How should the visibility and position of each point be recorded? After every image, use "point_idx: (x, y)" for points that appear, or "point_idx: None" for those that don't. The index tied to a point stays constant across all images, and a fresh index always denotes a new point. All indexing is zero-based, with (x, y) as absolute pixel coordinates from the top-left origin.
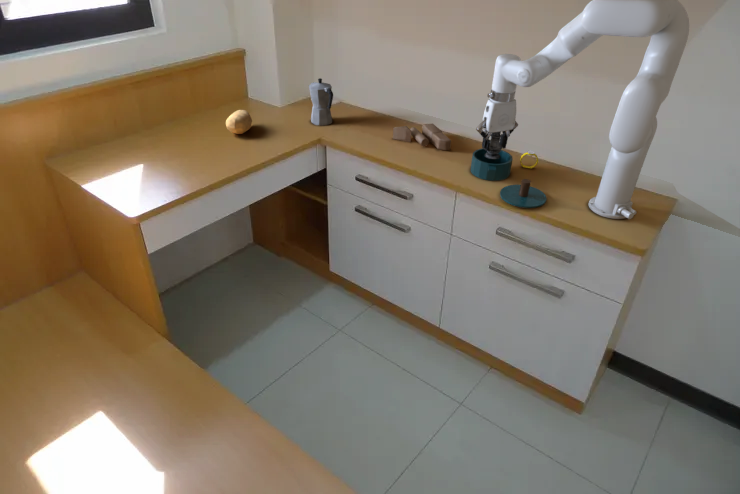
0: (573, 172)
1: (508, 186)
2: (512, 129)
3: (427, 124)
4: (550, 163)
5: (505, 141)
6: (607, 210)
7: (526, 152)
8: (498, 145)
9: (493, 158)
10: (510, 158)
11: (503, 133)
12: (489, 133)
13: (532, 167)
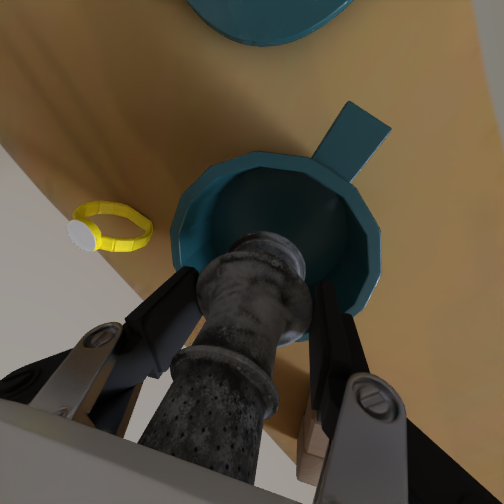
0: (7, 134)
1: (299, 20)
2: (3, 390)
3: (316, 485)
4: (68, 217)
5: (162, 297)
6: None
7: (102, 248)
8: (230, 288)
9: (280, 238)
10: (186, 212)
11: (136, 378)
12: (370, 492)
13: (122, 204)
